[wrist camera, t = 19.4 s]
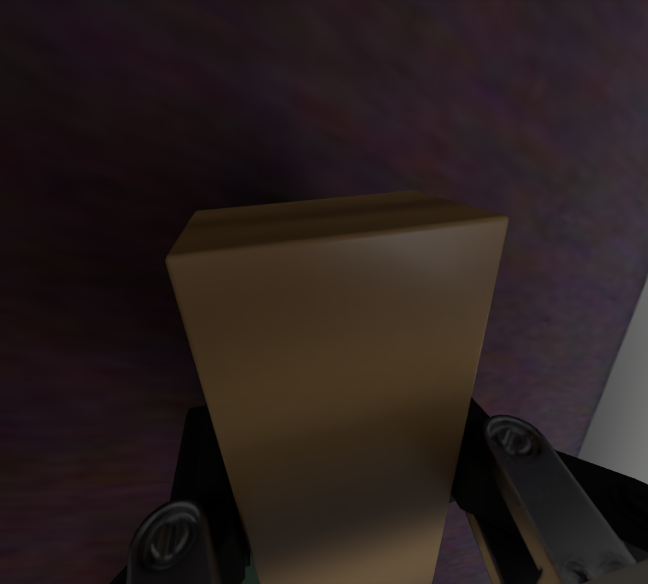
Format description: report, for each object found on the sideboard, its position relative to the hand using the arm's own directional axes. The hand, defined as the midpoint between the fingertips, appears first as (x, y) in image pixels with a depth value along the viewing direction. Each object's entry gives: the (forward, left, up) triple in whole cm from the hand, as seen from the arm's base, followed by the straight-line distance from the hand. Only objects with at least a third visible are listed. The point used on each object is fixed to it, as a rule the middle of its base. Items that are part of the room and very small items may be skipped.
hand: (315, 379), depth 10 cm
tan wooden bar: (0, 0, 0) cm, 0 cm away
